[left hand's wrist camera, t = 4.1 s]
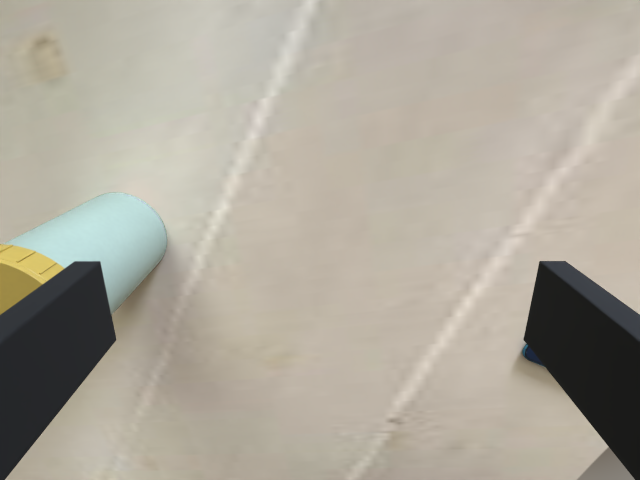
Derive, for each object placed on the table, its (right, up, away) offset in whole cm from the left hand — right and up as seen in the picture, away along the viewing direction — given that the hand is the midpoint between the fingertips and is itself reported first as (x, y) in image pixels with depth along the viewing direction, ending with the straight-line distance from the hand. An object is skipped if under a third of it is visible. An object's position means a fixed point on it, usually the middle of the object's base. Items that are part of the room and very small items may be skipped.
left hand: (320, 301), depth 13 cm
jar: (-20, +2, +29) cm, 35 cm away
